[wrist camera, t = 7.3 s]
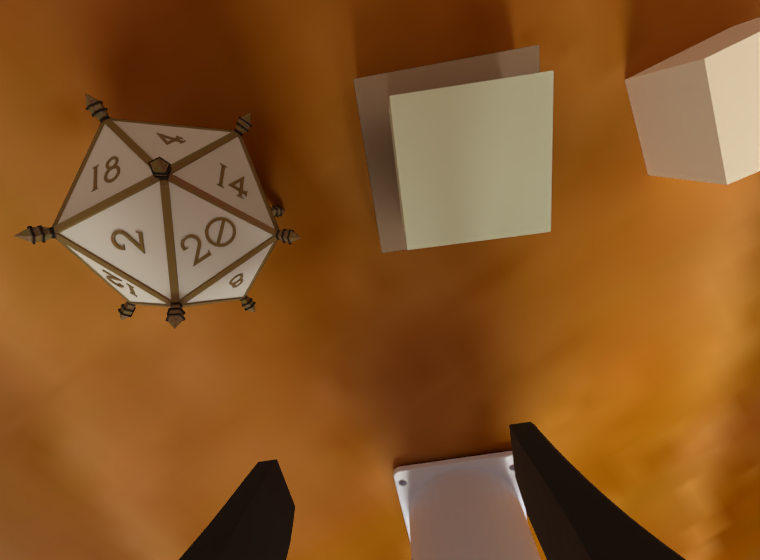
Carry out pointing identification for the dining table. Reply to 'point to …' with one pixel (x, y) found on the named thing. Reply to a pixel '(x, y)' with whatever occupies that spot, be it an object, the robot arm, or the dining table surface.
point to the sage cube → (474, 160)
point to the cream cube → (702, 109)
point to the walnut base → (378, 128)
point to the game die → (168, 214)
